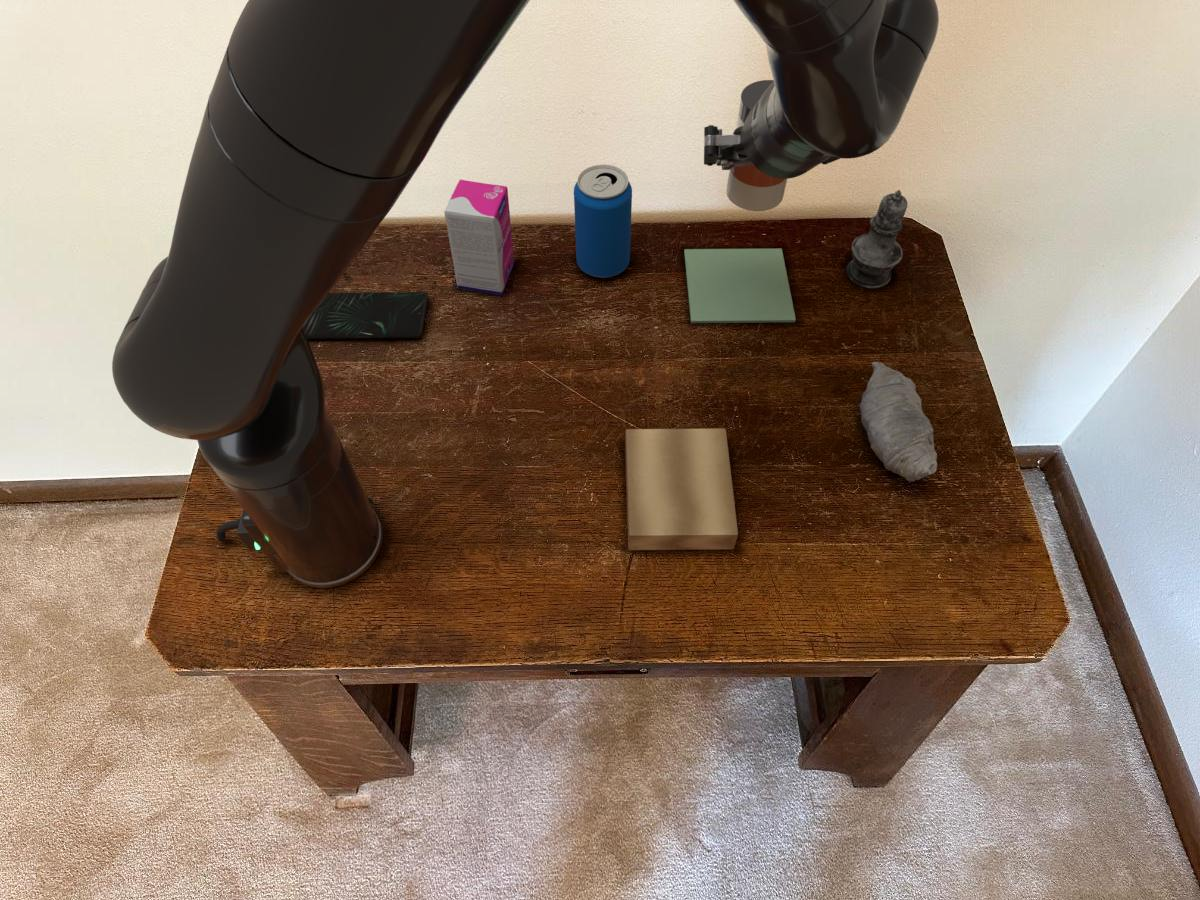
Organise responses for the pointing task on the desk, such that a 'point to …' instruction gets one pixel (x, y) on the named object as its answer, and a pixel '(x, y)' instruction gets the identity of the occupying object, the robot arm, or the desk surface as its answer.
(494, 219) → the supplement box
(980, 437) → the desk surface
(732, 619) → the desk surface
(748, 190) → the jar
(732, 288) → the mat
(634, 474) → the stand
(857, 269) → the grey tiered tall piece
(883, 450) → the grey oval lump
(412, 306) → the smartphone
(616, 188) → the beverage can
